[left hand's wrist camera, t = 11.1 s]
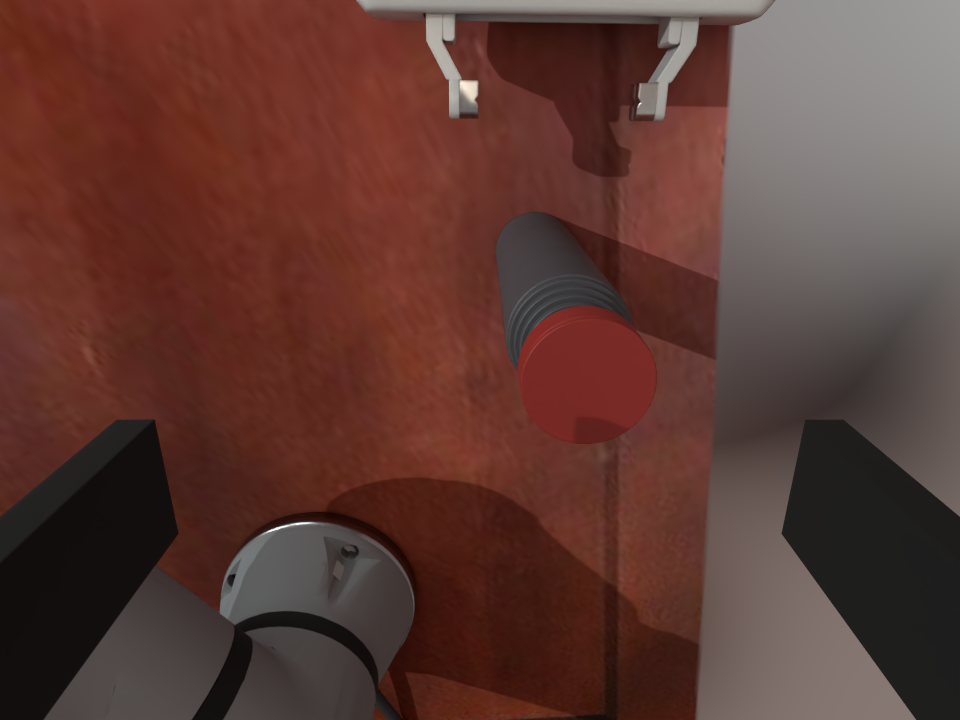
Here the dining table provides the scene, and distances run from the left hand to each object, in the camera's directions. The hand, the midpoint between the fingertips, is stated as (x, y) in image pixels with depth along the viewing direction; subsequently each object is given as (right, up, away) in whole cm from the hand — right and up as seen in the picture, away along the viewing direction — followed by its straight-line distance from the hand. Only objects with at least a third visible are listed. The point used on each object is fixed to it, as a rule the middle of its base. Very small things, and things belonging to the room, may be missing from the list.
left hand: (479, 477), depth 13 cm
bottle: (+4, +10, +29) cm, 30 cm away
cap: (+4, +2, +8) cm, 9 cm away
